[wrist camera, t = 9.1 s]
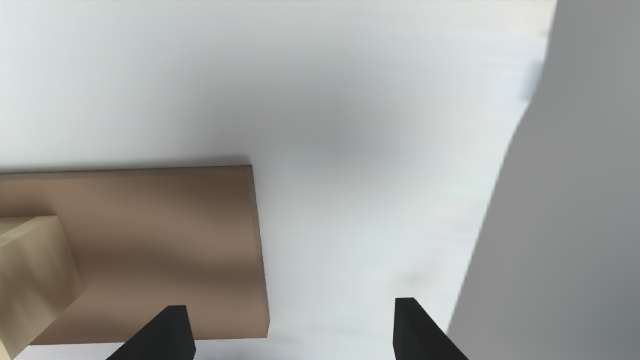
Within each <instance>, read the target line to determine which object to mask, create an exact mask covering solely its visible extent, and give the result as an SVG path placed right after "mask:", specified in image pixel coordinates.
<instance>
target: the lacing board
mask: <svg viewBox="0 0 640 360" xmlns="http://www.w3.org/2000/svg"><path fill="white" fill-rule="evenodd" d="M32 216H58V218H59V220H60V223H61V226H62V229H63V231H64V234H65V237H66V239H67V242H68V245H69V248H70V250H71V253H72V256H73V259H74V261H75V264H76V267H77V269H78V272H79V275H80V278H81V280H82V283H83V286H84V289H85V292H84V293H83V294H82V295H81V296H80V297H79V298H78V299H76V300H75V301H74V302H73V303H72V304H71V305H70V306H69V307H68V308H67V309H66V310H65V311H64V312H63V313H62V314H61V315H60V316H58V317H57V318H56V319H55V320H54V321H53V322H52V323H51V324H50V325H49V326H48V327H47V328H46V329H45V330H44V331H43V332H42V333H40V334H39V335H38V336H37V337H36V338H35V339H34V340H33V341H32V342H31V343H30V344H29V345H54V344H86V343H117V342H127V341H128V340H129V339H130V338H131V337H133V336H134V335H135V334H136V333H137V332H138V331H139V330H140V329H142V328H143V327H144V326H145V325H146V324H147V323H148V322H149V321H151V320H152V319H153V318H154V317H155V316H156V315H157V314H159V313H160V312H161V311H162V310H163V309H165V308H166V307H167V306H168V305H186V308H187V313H188V317H189V321H190V326H191V330H192V334H193V339H194V340H210V339H242V338H267V333H268V328H269V323H270V318H269V309H268V300H267V292H266V283H265V274H264V266H263V257H262V248H261V240H260V231H259V222H258V213H257V205H256V196H255V187H254V179H253V170H252V165H240V166H212V167H183V168H155V169H126V170H98V171H69V172H41V173H12V174H0V218H6V217H32Z"/></svg>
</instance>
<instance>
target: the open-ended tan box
mask: <svg viewBox="0 0 640 360" xmlns="http://www.w3.org/2000/svg"><path fill="white" fill-rule="evenodd" d="M84 292H85V289H84V286H83V283H82V280H81V278H80V275H79V272H78V269H77V267H76V264H75V261H74V259H73V256H72V253H71V250H70V248H69V245H68V242H67V239H66V237H65V234H64V231H63V229H62V226H61V223H60V220H59V218H58V216H32V217H6V218H0V360H13V359H14V358H15V357H16V356H17V355H18V354H19V353H20V352H21V351H22V350H24V349H25V348H26V347H27V346H28V345H29V344H30V343H31V342H32V341H33V340H34V339H35V338H36V337H37V336H38V335H39V334H40V333H42V332H43V331H44V330H45V329H46V328H47V327H48V326H49V325H50V324H51V323H52V322H53V321H54V320H55V319H56V318H57V317H58V316H60V315H61V314H62V313H63V312H64V311H65V310H66V309H67V308H68V307H69V306H70V305H71V304H72V303H73V302H74V301H75V300H76V299H78V298H79V297H80V296H81V295H82V294H83V293H84Z"/></svg>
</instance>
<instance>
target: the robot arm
mask: <svg viewBox="0 0 640 360" xmlns="http://www.w3.org/2000/svg"><path fill="white" fill-rule="evenodd" d="M393 348H394V353H395V357H396V360H469V359H468V358H467V357H466V356H465V355H464V354H463V353H462V352H461V351H460V350H459V349H458V348H457V347H456V346H455V344H454V343H453V342H452V341H451V340H450V339H449V338H448V337H447V336H446V335H445V334H444V332H443V331H442V330H441V329H440V328H439V327H438V326H437V324H436V323H435V322H434V321H433V320H432V319H431V317H430V316H429V315H428V314H427V313H426V311H425V310H424V309H423V308H422V307H421V305H420V304H419V303H418V302H417V300H416V299H414V298H413V297H412V298H395V314H394V331H393ZM195 352H196V347H195V343H194V339H193V334H192V330H191V326H190V321H189V317H188V313H187V308H186V305H168V306H167V307H166V308H165V309H163V310H162V311H161V312H160V313H159V314H157V315H156V316H155V317H154V318H153V319H152V320H151V321H149V322H148V323H147V324H146V325H145V326H144V327H143V328H142V329H140V330H139V331H138V332H137V333H136V334H135V335H134V336H133V337H131V338H130V339H129V340H128V341H127V342H126V343H124V344H123V345H122V346H121V347H120V348H119V349H118V350H116V351H115V352H114V353H113V354H112V355H111V356H109V357H108V358H107V359H106V360H193V359H194V355H195Z"/></svg>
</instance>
